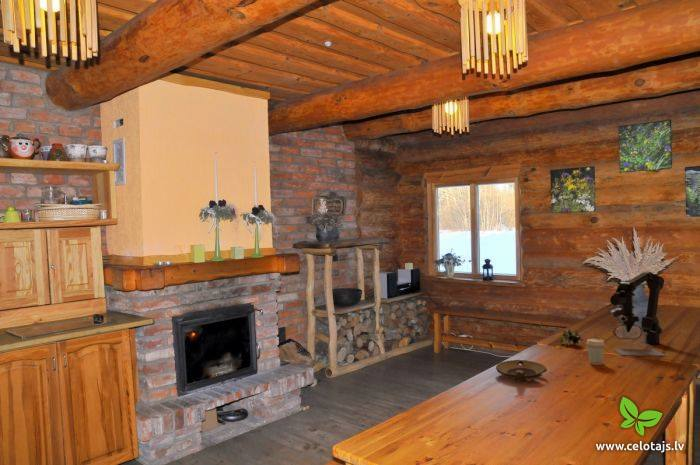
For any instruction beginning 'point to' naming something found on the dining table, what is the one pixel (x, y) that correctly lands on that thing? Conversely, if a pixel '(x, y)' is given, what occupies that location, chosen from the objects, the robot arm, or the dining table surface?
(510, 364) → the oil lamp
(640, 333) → the tin
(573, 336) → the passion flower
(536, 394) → the dining table surface
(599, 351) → the coffee cup
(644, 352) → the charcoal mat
